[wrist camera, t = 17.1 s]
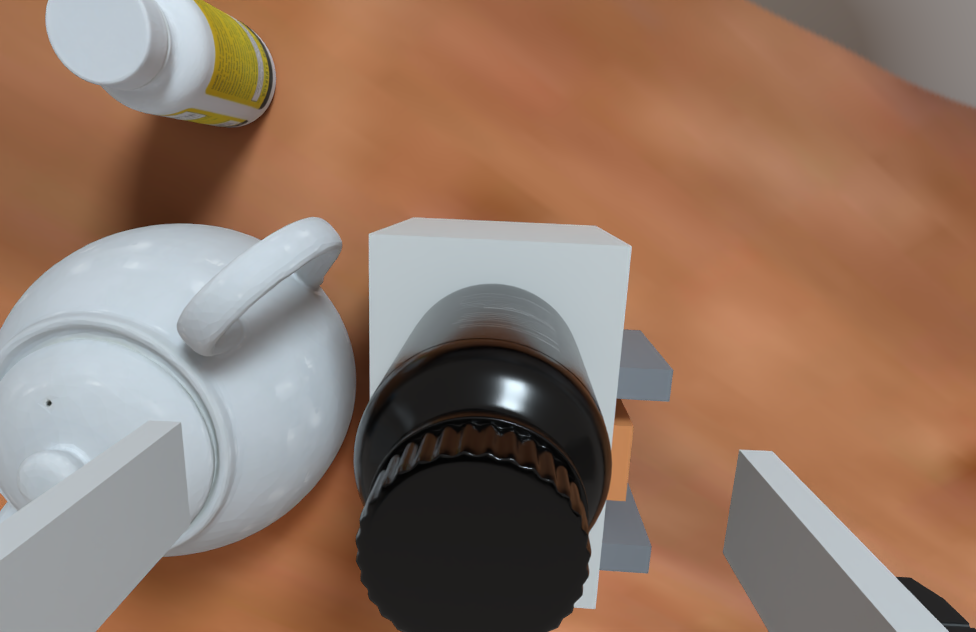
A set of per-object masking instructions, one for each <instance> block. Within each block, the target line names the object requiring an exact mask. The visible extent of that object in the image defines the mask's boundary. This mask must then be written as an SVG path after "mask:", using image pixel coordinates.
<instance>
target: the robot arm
mask: <svg viewBox="0 0 976 632" xmlns="http://www.w3.org/2000/svg"><path fill="white" fill-rule="evenodd" d="M190 525H191V524H190V513H189V502H188V491H187V480H186V469H185V458H184V447H183V436H182V425H181V422H172V421H151V420H149V421H147V422H146V423H145V424H143V425H142V426H140V427H139V428H137V429H136V430H134V431H133V432H132V433H130V434H129V435H127V436H126V437H124V438H123V439H121V440H120V441H119V442H117V443H116V444H114V445H113V446H111V447H110V448H108V449H107V450H106V451H104V452H103V453H101V454H100V455H98V456H97V457H95V458H94V459H93V460H91V461H90V462H88V463H87V464H85V465H84V466H82V467H81V468H80V469H78V470H77V471H75V472H74V473H72V474H71V475H69V476H68V477H67V478H65V479H64V480H62V481H61V482H59V483H58V484H56V485H55V486H54V487H52V488H51V489H49V490H48V491H46V492H45V493H43V494H42V495H41V496H39V497H38V498H36V499H35V500H33V501H32V502H30V503H29V504H28V505H26V506H25V507H23V508H22V509H20V510H19V511H17V512H16V513H15V514H13V515H12V516H10V517H9V518H7V519H6V520H4V521H3V522H2V523H0V632H96V631H97V629H98V628H99V627H100V626H101V625H102V624H103V623H104V622H105V620H106V619H107V618H108V617H109V616H110V615H111V614H112V613H113V612H114V610H115V609H116V608H117V607H118V606H119V605H120V604H121V603H122V601H123V600H124V599H125V598H126V597H127V596H128V595H129V594H130V592H131V591H132V590H133V589H134V588H135V587H136V586H137V585H138V584H139V582H140V581H141V580H142V579H143V578H144V577H145V576H146V575H147V573H148V572H149V571H150V570H151V569H152V568H153V567H154V566H155V564H156V563H157V562H158V561H159V560H160V559H161V558H162V557H163V555H164V554H165V553H166V552H167V551H168V550H169V549H170V548H171V547H172V545H173V544H174V543H175V542H176V541H177V540H178V539H179V538H180V536H181V535H182V534H183V533H184V532H185V531H186V530H187V529H188V527H189V526H190ZM723 554H724V556H725V557H726V559H727V561H728V563H729V564H730V566H731V568H732V569H733V571H734V573H735V575H736V576H737V578H738V580H739V581H740V583H741V585H742V587H743V588H744V590H745V592H746V593H747V595H748V597H749V598H750V600H751V602H752V604H753V605H754V607H755V609H756V610H757V612H758V614H759V616H760V617H761V619H762V621H763V622H764V624H765V626H766V628H767V629H768V631H769V632H976V629H975V628H970V626H969V623H968V622H967V621H966V620H965V619H964V618H963V617H962V616H961V615H960V614H959V613H958V612H957V611H956V610H955V609H954V608H953V607H952V606H951V605H950V604H948V603H947V602H946V601H945V600H944V599H943V598H941V597H940V596H938V595H937V594H935V593H934V592H932V591H931V590H929V589H927V588H926V587H924V586H923V585H921V584H920V583H918V582H917V581H915V580H913V579H912V578H907V577H895V576H894V575H893V574H892V573H891V572H890V571H889V570H888V569H887V568H886V567H885V566H884V565H883V564H882V563H881V562H880V561H879V560H878V559H877V558H876V557H875V556H874V555H873V554H872V553H871V552H870V551H869V549H868V548H867V547H866V546H865V545H864V544H863V543H862V542H861V541H860V540H859V539H858V538H857V537H856V536H855V535H854V534H853V533H852V532H851V531H850V530H849V529H848V528H847V527H846V526H845V525H844V524H843V523H842V522H841V521H840V520H839V519H838V518H837V517H836V516H835V515H834V514H833V513H832V512H831V511H830V510H829V509H828V508H827V507H826V506H825V505H824V504H823V503H822V502H821V501H820V499H819V498H818V497H817V496H816V495H815V494H814V493H813V492H812V491H811V490H810V489H809V488H808V487H807V486H806V485H805V484H804V483H803V482H802V481H801V480H800V479H799V478H798V477H797V476H796V475H795V474H794V473H793V472H792V471H791V470H790V469H789V468H788V467H787V466H786V465H785V464H784V463H783V462H782V461H781V460H780V459H779V458H778V457H777V456H776V455H775V454H774V453H773V452H772V451H756V450H739V455H738V461H737V467H736V473H735V480H734V486H733V492H732V499H731V505H730V511H729V517H728V524H727V530H726V536H725V542H724V549H723Z"/></svg>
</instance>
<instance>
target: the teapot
mask: <svg viewBox="0 0 976 632" xmlns="http://www.w3.org/2000/svg"><path fill="white" fill-rule="evenodd" d="M341 249H342V241H341V239H340V237H339V235H338V233H337V232H336V231H335V230H334V229H333V227H332V226H331V225H330V224H329V223H328V222H326V221H325V220H323V219H321V218H317V217H310V218H306V219H301V220H299V221H296V222H294V223H291V224H289V225H287V226H285V227H283V228H281V229H279V230H277V231H275V232H274V233H272V234H271V235H269V236H267V237H266V238H264V239H263V240H259V239H257V238H255V237H252V236H250V235H247V234H244V233H241V232H238V231H234V230H231V229H227V228H222V227H217V226H210V225H201V224H180V223H176V224H160V225H152V226H146V227H140V228H135V229H131V230H127V231H123V232H119V233H116V234H113V235H110V236H107V237H105V238H102V239H99V240H97V241H95V242H93V243H90V244H88V245H86V246H84V247H83V248H81V249H79V250H77V251H75V252H74V253H72V254H70V255H69V256H67V257H66V258H64V259H63V260H61V261H60V262H58V263H57V264H55V265H54V266H52V267H51V268H50V269H49V270H48V271H46V272H45V273H44V274H43V275H42V276H41V277H39V278H38V279H37V280H36V281H35V282H34V283H33V284H32V285H31V286H30V287H29V288H28V290H27V291H26V292H25V293H24V294H23V295H22V297H21V298H20V299H19V301H18V302H17V303H16V304H15V306H14V307H13V309H12V310H11V312H10V313H9V315H8V317H7V318H6V320H5V322H4V324H3V326H2V328H1V330H0V493H1V494H2V495H3V496H4V498H5V499H6V500H7V501H8V502H7V503H6V504H5V506H4V507H3V508H2V510H1V511H0V523H2V522H3V521H4V520H6V519H7V518H9V517H10V516H12V515H13V514H15V513H16V512H17V511H19V510H20V509H22V508H23V507H25V506H26V505H28V504H29V503H30V502H32V501H33V500H35V499H36V498H38V497H39V496H41V495H42V494H43V493H45V492H46V491H48V490H49V489H51V488H52V487H54V486H55V485H56V484H58V483H59V482H61V481H62V480H64V479H65V478H67V477H68V476H69V475H71V474H72V473H74V472H75V471H77V470H78V469H80V468H81V467H82V466H84V465H85V464H87V463H88V462H90V461H91V460H93V459H94V458H95V457H97V456H98V455H100V454H101V453H103V452H104V451H106V450H107V449H108V448H110V447H111V446H113V445H114V444H116V443H117V442H119V441H120V440H121V439H123V438H124V437H126V436H127V435H129V434H130V433H132V432H133V431H134V430H136V429H137V428H139V427H140V426H142V425H143V424H145V423H146V422H147V421H149V420H151V421H172V422H181V425H182V436H183V447H184V458H185V469H186V480H187V491H188V502H189V513H190V524H191V525H190V526H189V527H188V529H187V530H186V531H185V532H184V533H183V534H182V535H181V536H180V538H179V539H178V540H177V541H176V542H175V543H174V544H173V545H172V547H171V548H170V549H169V550H168V551H167V552H166V553H165V554H164V555H163V557H170V556H180V555H188V554H194V553H199V552H204V551H208V550H212V549H216V548H220V547H223V546H226V545H228V544H231V543H234V542H237V541H239V540H242V539H244V538H246V537H248V536H250V535H252V534H254V533H256V532H258V531H260V530H262V529H263V528H265V527H267V526H269V525H270V524H272V523H273V522H275V521H276V520H278V519H279V518H281V517H282V516H283V515H285V514H286V513H287V512H288V511H290V510H291V509H292V508H293V507H294V506H296V505H297V504H298V503H299V502H300V501H301V500H302V499H303V498H304V497H305V496H306V495H307V494H308V493H309V492H310V491H311V490H312V489H313V487H314V486H315V485H316V484H317V483H318V481H319V480H320V479H321V478H322V476H323V475H324V474H325V472H326V471H327V469H328V468H329V466H330V465H331V463H332V462H333V460H334V458H335V457H336V455H337V453H338V451H339V449H340V447H341V445H342V443H343V440H344V438H345V436H346V433H347V430H348V427H349V424H350V422H351V418H352V414H353V410H354V403H355V396H356V368H355V360H354V354H353V350H352V346H351V342H350V339H349V336H348V333H347V330H346V328H345V326H344V324H343V321H342V319H341V317H340V315H339V313H338V312H337V310H336V308H335V307H334V305H333V304H332V302H331V301H330V299H329V298H328V296H327V295H326V294H325V292H324V291H323V290H322V288H321V287H320V285H321V284H322V283H323V280H324V276H325V274H326V273H327V271H328V270H329V269H330V267H331V266H332V264H333V263H334V262H335V260H336V259H337V258H338V256H339V254H340V252H341Z"/></svg>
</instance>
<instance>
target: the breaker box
mask: <svg viewBox="0 0 976 632" xmlns="http://www.w3.org/2000/svg"><path fill="white" fill-rule="evenodd" d="M631 249H632V246H630V245H628V244H627V243H625V242H623V241H621V240H620V239H618V238H616V237H614V236H613V235H611V234H609V233H608V232H606V231H604V230H602V229H601V228H599V227H597V226H588V225H567V224H545V223H523V222H502V221H480V220H459V219H437V218H415V217H414V218H411V219H408V220H406V221H403V222H400V223H397V224H395V225H392V226H389V227H386V228H384V229H381V230H378V231H375V232H373V233H370V234H369V346H370V399H371V397H372V395H373V394H374V392H375V390H376V389H377V387H378V386H379V384H380V382H381V381H382V379H383V378H384V376H385V374H386V373H387V371H388V370H389V368H390V366H391V365H392V363H393V362H394V360H395V358H396V357H397V355H398V353H399V352H400V350H401V349H402V347H403V345H404V344H405V342H406V341H407V339H408V337H409V336H410V334H411V333H412V331H413V330H414V328H415V327H416V325H417V324H418V322H419V321H420V319H421V318H422V317H423V316H424V314H425V313H426V312H427V311H428V310H429V309H430V308H431V307H432V306H433V305H435V304H436V303H437V302H438V301H440V300H441V299H443V298H444V297H446V296H447V295H449V294H451V293H453V292H455V291H457V290H460V289H462V288H466V287H469V286H474V285H479V284H504V285H510V286H514V287H518V288H521V289H524V290H526V291H529V292H531V293H533V294H535V295H536V296H538V297H540V298H541V299H543V300H544V301H546V302H547V303H548V304H549V305H551V306H552V307H553V308H554V309H555V310H556V311H557V312H558V313H559V315H560V316H561V317H562V318H563V320H564V321H565V323H566V324H567V326H568V327H569V329H570V331H571V333H572V335H573V337H574V339H575V342H576V344H577V347H578V349H579V352H580V355H581V357H582V360H583V363H584V366H585V368H586V371H587V374H588V377H589V379H590V382H591V385H592V388H593V390H594V393H595V396H596V399H597V401H598V404H599V407H600V410H601V413H602V415H603V418H604V422H605V425H606V429H607V432H608V436H609V440H610V446H611V448H612V438H613V428H614V418H615V408H616V399H634V400H651V401H669V400H670V392H671V383H672V375H673V369H672V368H671V367H670V366H669V365H668V363H667V362H666V361H665V360H664V359H663V357H662V356H661V355H660V354H659V352H658V351H657V350H656V349H655V348H654V346H653V345H652V344H651V343H650V342H649V340H648V339H647V338H646V337H645V336H644V334H643V333H642V332H641V331H640V330H623V328H624V318H625V308H626V298H627V289H628V279H629V269H630V259H631ZM589 540H590V545H591V557H590V560H589V563H588V565H589V577H588V579H587V580H586V582H585V583H584V584H583V595H582V596H581V597H580V599H579V600H577V601H576V602H575V603H574V607H575V608H589V609H595V608H596V598H597V588H598V578H599V570H606V571H621V572H636V573H648V570H649V562H650V554H651V544H650V541H649V539H648V536H647V533H646V530H645V528H644V525H643V522H642V520H641V517H640V514H639V512H638V509H637V506H636V503H635V501H634V498H633V495H632V493H631V490H630V487H629V484H628V483H627V493H626V501H613V500H606V502H605V504H604V507H603V509H602V512H601V514H600V515H599V517H598V519H597V521H596V523H595V524H594V526H593V527H592V529H591V530H590V532H589Z"/></svg>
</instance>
